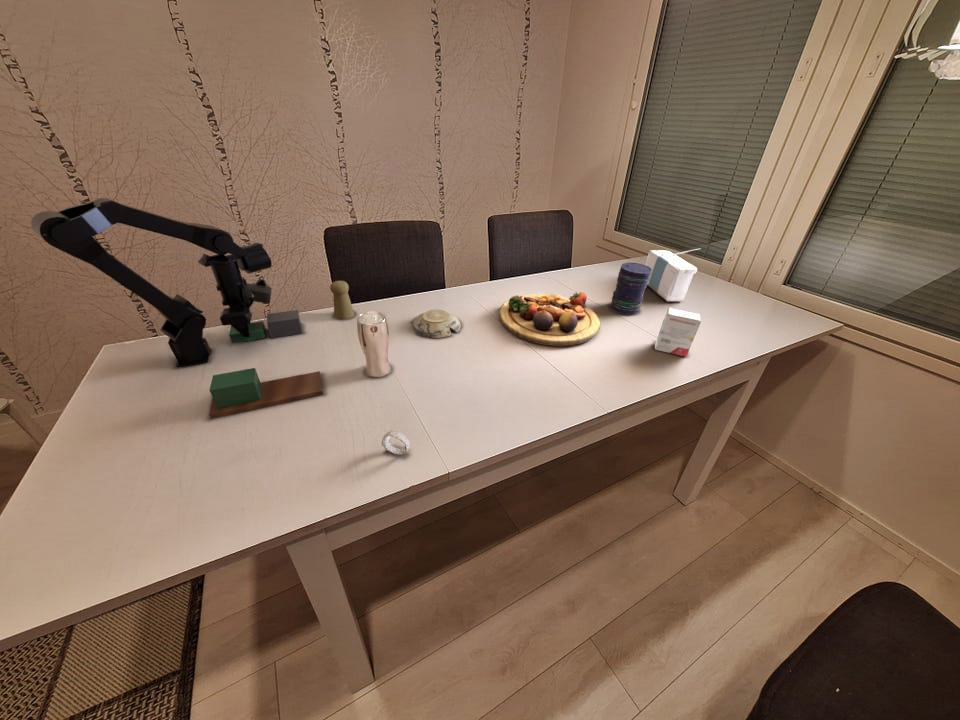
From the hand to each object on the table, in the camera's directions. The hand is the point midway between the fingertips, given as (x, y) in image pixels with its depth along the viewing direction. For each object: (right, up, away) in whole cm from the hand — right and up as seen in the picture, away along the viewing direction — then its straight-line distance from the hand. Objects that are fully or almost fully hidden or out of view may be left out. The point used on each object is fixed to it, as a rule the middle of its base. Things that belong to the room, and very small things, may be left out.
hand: (247, 331), depth 102 cm
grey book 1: (+9, +2, +3) cm, 10 cm away
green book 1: (+12, -14, -23) cm, 29 cm away
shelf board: (+17, -16, -19) cm, 30 cm away
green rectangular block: (0, -1, +1) cm, 1 cm away
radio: (+135, +19, +42) cm, 143 cm away
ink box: (+120, -5, +6) cm, 121 cm away
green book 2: (+12, -16, -21) cm, 29 cm away
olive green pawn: (+22, +6, +14) cm, 27 cm away
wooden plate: (+86, +5, +17) cm, 88 cm away
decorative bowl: (+51, +3, +11) cm, 52 cm away
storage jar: (+115, +10, +28) cm, 119 cm away
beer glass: (+39, -11, -9) cm, 41 cm away
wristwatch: (+48, -26, -30) cm, 63 cm away
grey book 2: (+9, 0, +4) cm, 10 cm away
